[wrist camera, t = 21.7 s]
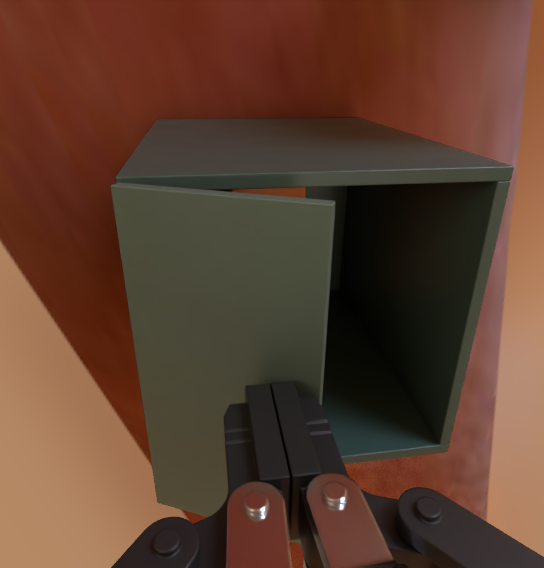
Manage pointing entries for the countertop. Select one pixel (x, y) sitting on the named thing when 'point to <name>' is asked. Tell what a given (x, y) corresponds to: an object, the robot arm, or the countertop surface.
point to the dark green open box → (366, 257)
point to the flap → (218, 317)
